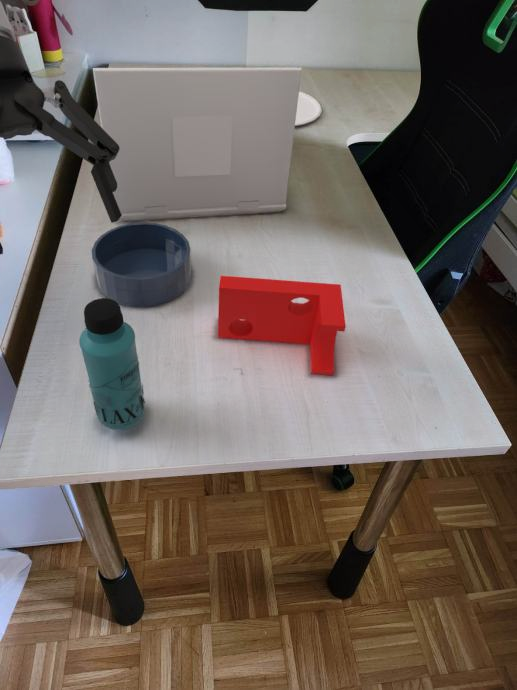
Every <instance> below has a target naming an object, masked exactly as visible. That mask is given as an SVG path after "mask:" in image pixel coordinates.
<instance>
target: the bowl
mask: <svg viewBox="0 0 517 690" xmlns="http://www.w3.org/2000/svg"><path fill="white" fill-rule="evenodd" d="M91 259H92V264H93V268H94V275H95V278H96V283H97V286H98V288H99V290H100V292H101V293H102V294H103V295H104V296H105V298H108V299H112V300H114V301H116V302H117V303H118V304H119V305H121V306H125V307H131V308H132V307H133V308H152V307H157V306H158V307H159V306H161V305H164V304H168V303H170V302H172V301H174V300H175V299H177V298H179V297H180V296H181V295H183V293H185V292H186V290H187V289H188V287H189V286H190V284H191V279H192V258H191V246H190V243H189V240H188V239H187V238H186V236H185V235H184V234H183V233H181V232H180V231H179V230H177V229H176V228H173V227H171V226H169V225H166V224H161V223H156V222H145V221H144V222H143V221H142V222H132V223H126V224H123V225H119V226H116V227H114V228H111V229H108V230H107V231H106V232H104V233H103V234H101V235H100V236H98V238H97V239H96V240H95V241H94V243H93V246H92V249H91Z"/></svg>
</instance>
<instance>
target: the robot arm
mask: <svg viewBox="0 0 517 690" xmlns="http://www.w3.org/2000/svg"><path fill="white" fill-rule="evenodd" d="M46 102H47V103H50V104H51V105H52V106H53V107H54V108H55V109H59V110H60V111H61V112H62V114H63V115H64V116H65V117H66V119H68V120H69V121H70V122H71V123H72V124H73V126H75V128H77V129H78V130H79V131H80V133H82V135H84V136H85V137H86V138H87V139H86V138H84V137H83V136H82V135H80V134H79V133H77V132H76V131H74V130H73V129H71V128H70V127H68V126H67V125H65V124H64V123H62V122H61V121H59V120H58V119H56V118H55V116H54V115H53V114H52V113H51V112H49V111H48V110H46V109H44V105H45V103H46ZM35 131H37V132H38V133H40V134H42V136H45V137H49V138H51V139H52V140H53V141H55V142H57V143H58V144H60V145H61V146H63V147H64V148H66V149H68V150H69V151H71V152H72V153H74V154H75V155H77V156H78V157H80V158H81V159H82V160H85V162H87V163H89V164H91V165H92V167H91V170H90V173H91V177H92V179H93V181H94V183H95V186H96V188H97V191H98V194H99V195H100V199H101V201H102V203H103V205H104V209H105V210H106V213H107V216H108V218H109V220H110V222H111V224H112V223H117V222H118V221H119V218H120V217H121V216H122V215H121V212H120V210H119V207H118V205H117V202H116V200H115V197H114V195H113V192H115V191H116V189H117V182H116V179H115V177H114V174H113V172H112V169H111V167H110V164H109V162H110V161H111V160H114V159H115V158H116V156H117V154H118V152H119V150H120V147H119V145H118V144H117V143H116V142H115V141H114V140H113V139H112V138H111V137H110V136H109V135H108V134H107V133H106V132H105V131H104V130H103V129H102V127H101V125H100V124H99V123H98V122H97V121H96V120H95V119H94V118H93V117H92V116H91V115H90V114H89V113H88V112H87V111H86V110H85V109H84V108H83V107H82V106H81V105H80V104H79V102H77V101H76V100H75V99H74V98H73V96H72V94H71V92H70V90H69V89H68V86H67V85H66V83H65V82H64V81H63V80H60V79H57V80H55V81H54V85H53V86H49V87H45V88H40V87H39V86H38V84H36V82H35V81H34V77H33V76H32V73H31V71H30V68H29V66H28V64H27V60H26V58H25V56H24V54H23V51H22V49H21V46H20V44H18V42H17V37H16V34H15V32H14V29H13V27H12V25H11V22H10V20H9V18H8V15H7V13H6V10H5V8H4V5H3V3H2V1H1V0H0V138H1V139H3V141H4V140H10V139H13V138H15V137H16V136H23V137H24V136H30V135H33V133H34V132H35ZM3 254H4V247H3V245H2V243H1V242H0V255H3Z"/></svg>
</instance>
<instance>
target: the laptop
mask: <svg viewBox="0 0 517 690" xmlns="http://www.w3.org/2000/svg"><path fill="white" fill-rule="evenodd" d="M302 70H303V69H302V67H301V66H299V67H296V66H295V67H293V66H291V67H287V66H285V67H92V73H93V80H94V86H95V87H94V88H95V93H96V100H97V106H98V107H97V108H98V114H99V120H100V127H101V128H102V129H103V130H104V131H105V132H106V133H107V134H108V135H109V136H110V137H111V138H112V139H113V140H114V141H115V142H116V143H117V144H118V145H119V147H120V150H119V152H118V154H117V156H116V158H115V159H114V160H111V161H110V162H109V164H110V167H111V169H112V172H113V174H114V177H115V179H116V182H117V189H116V191H115V192H113V195H114V197H115V200H116V202H117V205H118V207H119V210H120V212H121V215H122V216H121V217H120V218H119V220H118V221H119V222H134V221H135V222H136V221H153V220H169V219H170V220H171V219H185V218H187V219H188V218H200V217H203V218H204V217H218V216H219V217H220V216H233V215H249V214H251V215H252V214H253V215H254V214H267V213H268V214H269V213H279V212H282V211H284V210H286V209H287V195H288V187H289V178H290V170H291V161H292V153H293V147H294V146H293V144H294V137H295V136H294V135H295V128H296V126H295V121H296V112H297V104H298V95H299V91H300V87H301V78H302Z"/></svg>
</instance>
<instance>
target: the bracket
mask: <svg viewBox="0 0 517 690" xmlns="http://www.w3.org/2000/svg"><path fill="white" fill-rule="evenodd" d="M300 298H301V299H305V300H307V301H306V302H303V303H301V302H293V300H296V299H300ZM217 313H218V321H217V323H218V324H217V339H229V340H230V339H231V340H242V341H243V340H244V341H257V342H258V341H259V342H271V343H272V342H273V343H285V344H286V343H287V344H299V345H309V356H310V374H311V375H323V376H334V373H335V348H336V347H335V346H336V339H337V334H338V332H342V333H345V332H346V327H347V325H346V317H345V309H344V301H343V293H342V284H340V283H327V282H313V281H299V280H286V279H271V278H261V277H260V278H259V277H246V276H232V275H220V277H219V284H218V312H217Z"/></svg>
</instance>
